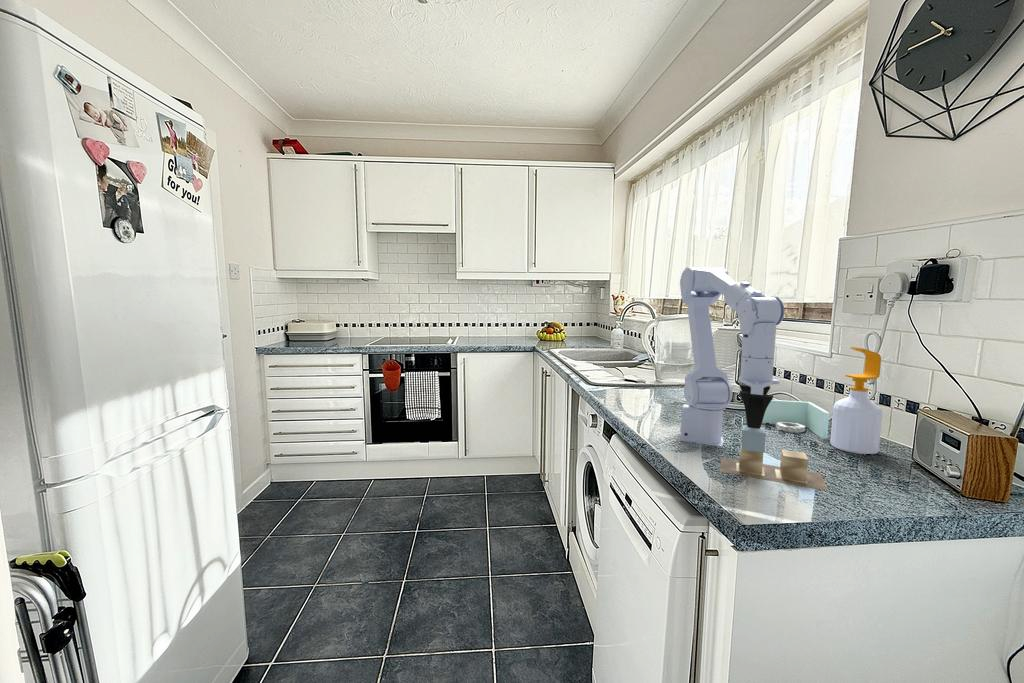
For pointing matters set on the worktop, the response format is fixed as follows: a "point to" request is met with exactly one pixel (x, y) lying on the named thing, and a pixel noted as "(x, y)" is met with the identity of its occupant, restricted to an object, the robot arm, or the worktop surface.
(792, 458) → the tan wooden cube
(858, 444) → the soap bottle
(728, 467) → the board
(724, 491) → the worktop surface
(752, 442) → the slate grey cube
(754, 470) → the pillar
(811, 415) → the right angle wall
